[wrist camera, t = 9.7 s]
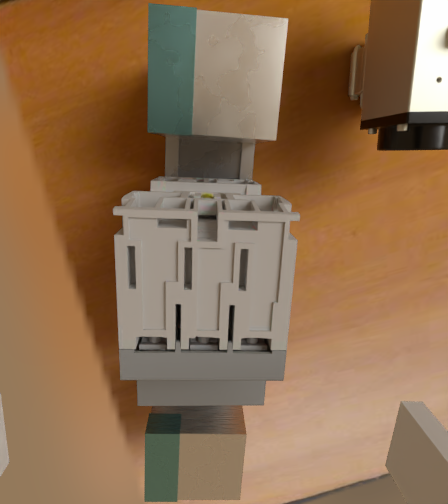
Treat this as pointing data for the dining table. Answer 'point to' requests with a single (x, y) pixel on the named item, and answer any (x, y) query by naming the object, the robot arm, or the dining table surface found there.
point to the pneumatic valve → (404, 74)
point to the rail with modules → (207, 166)
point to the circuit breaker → (203, 290)
